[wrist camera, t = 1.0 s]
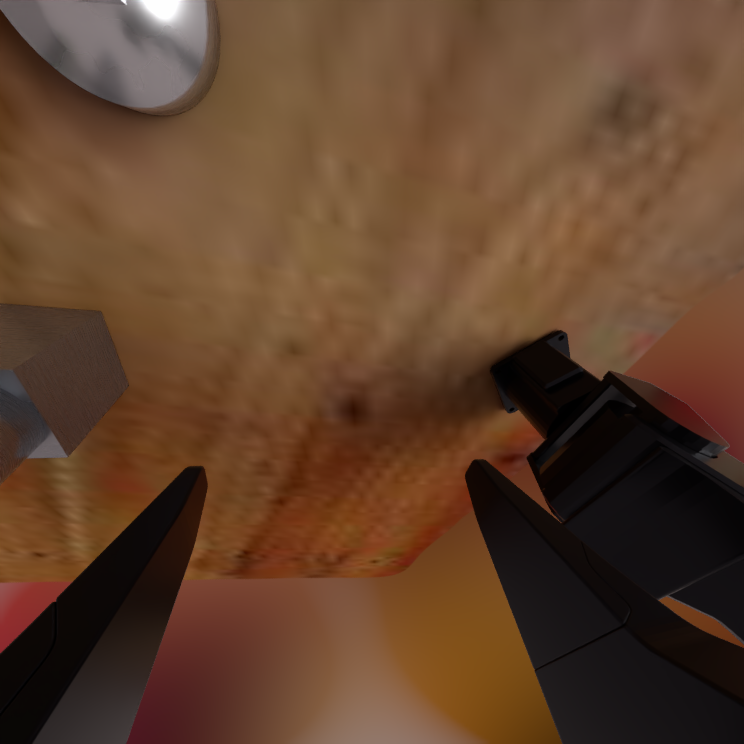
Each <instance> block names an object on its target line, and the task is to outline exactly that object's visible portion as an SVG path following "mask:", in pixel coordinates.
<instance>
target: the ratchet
mask: <svg viewBox="0 0 744 744" xmlns="http://www.w3.org/2000/svg"><path fill="white" fill-rule="evenodd" d="M0 9H1V11H2V12H3V13H4V15H5V16H6V17H7V19H8V20H9V21H10V23H11V24H12V25H13V26H14V27H15V29H16V30H17V31H18V32H19V33H20V35H21V36H22V37H23V38H24V39H25V40H26V41H27V42H28V43H29V44H30V45H31V47H32V48H33V49H34V50H35V51H36V52H37V53H38V54H39V55H40V56H41V57H42V58H44V59H45V60H46V61H47V62H48V63H49V64H50V65H51V66H53V67H54V68H55V69H56V70H57V71H59V72H60V73H61V74H63V75H64V76H65V77H66V78H68V79H69V80H70V81H72V82H74V83H75V84H77V85H78V86H80V87H81V88H83V89H85V90H86V91H88V92H90V93H92V94H94V95H96V96H98V97H100V98H103V99H105V100H108V101H111V102H113V103H116V104H119V105H122V106H124V107H127V108H130V109H133V110H136V111H138V112H142V113H146V114H150V115H157V116H170V115H176V114H180V113H183V112H185V111H188V110H190V109H191V108H193V107H194V106H196V105H197V104H198V103H199V102H200V101H201V100H202V99H203V98H204V97H205V95H206V94H207V92H208V91H209V89H210V88H211V85H212V83H213V81H214V79H215V75H216V72H217V68H218V63H219V56H220V25H219V18H218V12H217V6H216V2H215V0H0Z"/></svg>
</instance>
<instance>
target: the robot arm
mask: <svg viewBox="0 0 744 744" xmlns="http://www.w3.org/2000/svg"><path fill="white" fill-rule="evenodd" d="M490 372H491V375H492V377H493V380H494V383H495V385H496V388H497V390H498V393H499V396H500V398H501V401H502V404H503V406H504V409H505V410H506V411H507V413H513V412H515V411H517V410H519V411H520V412H521V413H522V414H523V415H524V416H525V418H526V419H527V420H528V421H529V422H530V423H531V424H532V426H533V427H534V428H535V429H536V430H537V431H538V432H539V434H540V435H541V436H542V437H543V438H544V439H545V440H544V442H543V443H542V444H541V445H540V446H539V447H538V448H537V449H536V450H535V451H534V452H533V453H530V454H529V455H528V456H527V460H528V462H529V465H530V467H531V469H532V471H533V474H534V476H535V478H536V480H537V483H538V485H539V487H540V489H541V492H542V494H543V496H544V498H545V501H546V503H547V505H548V506H549V508H550V510H551V512H552V513H553V514H554V515H555V516H556V517H557V518H558V519H559V521H561V522H562V523H560V522H559V521H558V520H557V519H555V518H554V517H553V516H552V515H550V514H549V513H548V512H547V511H546V510H544V509H543V508H542V507H541V506H540V505H539V504H537V503H536V502H535V501H534V500H532V499H531V498H530V497H529V496H528V495H527V494H525V493H524V492H523V491H522V490H521V489H520V488H518V487H517V486H516V485H514V483H512V482H511V481H510V480H509V479H508V478H506V477H505V476H504V475H503V474H502V473H500V472H499V471H498V470H497V469H496V468H494V467H493V466H492V465H491V464H490V463H488V462H487V461H486V460H483V459H475V460H473V461H472V463H471V464H470V466H469V468H468V470H467V471H466V474H465V479H466V483H467V487H468V490H469V494H470V498H471V501H472V505H473V508H474V512H475V515H476V518H477V521H478V524H479V527H480V530H481V532H482V535H483V537H484V540H485V542H486V545H487V548H488V551H489V553H490V555H491V558H492V561H493V564H494V566H495V569H496V571H497V574H498V576H499V579H500V582H501V584H502V587H503V590H504V592H505V595H506V597H507V600H508V603H509V605H510V608H511V610H512V613H513V616H514V618H515V621H516V623H517V626H518V629H519V631H520V634H521V637H522V639H523V642H524V644H525V647H526V649H527V652H528V655H529V657H530V660H531V662H532V665H533V667H534V669H535V673H536V676H537V679H538V681H539V684H540V686H541V689H542V692H543V694H544V697H545V700H546V702H547V705H548V707H549V710H550V712H551V715H552V718H553V720H554V723H555V725H556V728H557V730H558V733H559V736H560V739H561V741H562V744H744V648H742V647H740V646H738V645H735V644H733V643H730V642H728V641H725V640H723V639H720V638H718V637H716V636H713V635H711V634H709V633H707V632H705V631H702V630H701V629H699V628H697V627H696V626H694V625H692V624H690V623H689V622H687V621H686V620H684V619H683V618H681V617H680V616H678V615H677V614H676V613H674V612H673V611H672V610H670V609H669V608H668V607H666V606H665V605H664V604H662V603H661V602H660V601H658V600H660V599H662V598H664V597H666V596H667V597H669V598H671V599H673V600H675V601H678V602H680V603H682V604H684V605H686V606H688V607H690V608H692V609H695V610H696V611H699V612H701V613H703V614H705V615H707V616H709V617H711V618H713V619H715V620H717V621H718V622H719V623H721V625H723V626H724V627H725V628H726V629H727V630H728V631H729V632H731V633H732V634H733V635H734V636H735V637H736V638H737V639H739V641H740V642H742V643H743V644H744V464H743V463H742V462H740V461H738V460H737V459H735V458H734V457H732V456H730V455H729V454H728V453H726V452H725V451H724V450H726V449H727V448H728V447H729V444H728V443H727V442H726V441H725V440H724V439H723V438H722V437H721V436H720V435H719V434H718V433H717V432H716V431H715V430H714V429H713V428H712V427H711V426H710V425H709V424H707V422H705V421H704V420H703V419H702V418H701V417H700V416H699V415H698V414H697V413H696V412H695V411H694V410H693V409H692V408H691V407H690V406H689V405H688V404H686V403H685V402H683V401H681V400H680V399H678V398H676V397H674V396H672V395H670V394H669V393H667V392H665V391H664V390H662V389H660V388H658V387H656V386H655V385H653V384H651V383H648V382H645V381H642V380H639V379H635V378H632V377H628V376H626V375H622V374H619V373H616V372H613V371H608V372H607V373H606V374H605V375H604V376H603V378H604V379H603V380H602V381H601V380H599V379H598V378H596V377H595V376H594V375H592V374H591V373H589V372H588V371H587V370H585V369H584V368H582V367H581V366H580V365H579V364H577V363H576V362H574V361H573V360H572V359H570V352H569V344H568V337H567V333H565V332H564V331H562V330H559V331H557V332H555V333H553V334H551V335H549V336H547V337H546V338H544V339H542V340H540V341H538V342H536V343H534V344H533V345H531V346H529V347H527V348H525V349H523V350H522V351H520V352H518V353H516V354H514V355H512V356H510V357H509V358H507V359H505V360H503V361H501V362H499V363H497V364H496V365H494V366H493V367H492V368H491V370H490ZM207 487H208V483H207V478H206V473H205V469H204V467H203V466H189V467H187V468H185V469H184V470H183V471H182V472H181V473H180V474H179V475H178V476H177V477H176V478H175V479H174V480H173V481H172V482H171V483H170V484H169V485H168V486H167V488H166V489H165V490H164V491H163V492H162V493H161V494H160V495H159V496H158V497H157V498H156V499H155V500H154V501H153V502H152V503H151V504H150V505H149V506H148V507H147V508H146V509H145V510H144V511H143V512H142V513H141V514H140V515H139V516H138V517H137V518H136V519H135V520H134V521H133V522H132V523H131V524H130V525H129V526H128V527H127V528H126V529H125V530H124V531H123V532H122V533H121V534H120V535H119V536H118V537H117V538H116V539H115V540H114V541H113V542H112V543H111V544H110V545H109V546H108V547H107V548H106V549H105V550H104V551H103V552H102V553H101V554H100V555H99V556H98V557H97V558H96V559H95V560H94V561H93V562H92V563H91V564H90V565H89V566H88V567H87V568H86V569H85V570H84V571H83V572H82V573H81V574H80V575H79V576H78V577H77V578H76V579H75V580H74V581H73V582H72V583H71V584H70V585H69V586H68V587H67V588H66V589H65V590H64V591H63V592H62V593H61V594H60V595H59V596H58V597H57V599H56V602H52V603H51V604H50V605H49V606H48V607H47V608H46V609H45V610H44V611H43V612H42V613H41V614H40V615H39V616H38V617H37V618H36V619H35V620H34V621H33V622H32V623H31V624H30V625H29V626H28V627H27V628H26V629H25V630H24V631H23V632H22V633H21V634H20V635H19V636H18V637H17V638H16V639H15V640H14V641H13V642H12V643H11V644H10V645H9V646H8V647H7V648H6V649H5V650H4V651H3V652H2V653H0V744H126V742H127V739H128V736H129V734H130V731H131V728H132V725H133V722H134V719H135V716H136V713H137V710H138V707H139V704H140V701H141V699H142V696H143V693H144V690H145V687H146V684H147V681H148V678H149V676H150V673H151V670H152V667H153V664H154V661H155V658H156V655H157V652H158V650H159V646H160V644H161V641H162V638H163V635H164V632H165V629H166V626H167V623H168V620H169V617H170V615H171V612H172V609H173V606H174V603H175V600H176V597H177V595H178V591H179V589H180V586H181V582H182V580H183V577H184V574H185V571H186V569H187V566H188V563H189V560H190V557H191V554H192V551H193V548H194V545H195V541H196V537H197V532H198V528H199V524H200V519H201V515H202V510H203V506H204V502H205V497H206V493H207Z"/></svg>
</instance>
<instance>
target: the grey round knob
mask: <svg viewBox="0 0 744 744" xmlns="http://www.w3.org/2000/svg"><path fill="white" fill-rule="evenodd" d="M128 386H129V384H128V382H127V379H126V377H125V374H124V371H123V369H122V366H121V363H120V361H119V358H118V355H117V353H116V350H115V347H114V345H113V342H112V339H111V337H110V334H109V331H108V329H107V326H106V323H105V321H104V318H103V315H102V313H101V311H90V310H77V309H64V308H51V307H38V306H26V305H13V304H0V485H1V484H2V483H3V482H4V481H5V480H6V479H7V478H8V477H9V476H10V475H11V474H12V473H13V472H14V471H15V470H16V469H17V468H18V467H19V466H20V465H21V464H22V463H23V462H24V461H25V460H26V459H27V458H58V457H69V456H70V454H71V453H72V452H73V451H74V450H75V448H76V447H77V446H78V445H79V444H80V443H81V441H82V440H83V439H84V438H85V437H86V436H87V434H88V433H89V432H90V431H91V430H92V429H93V427H94V426H95V425H96V424H97V423H98V421H99V420H100V419H101V418H102V417H103V416H104V414H105V413H106V412H107V411H108V410H109V409H110V407H111V406H112V405H113V404H114V403H115V402H116V400H117V399H118V398H119V397H120V396H121V394H122V393H123V392H124V391H125V390H126V389H127V387H128Z"/></svg>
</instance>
